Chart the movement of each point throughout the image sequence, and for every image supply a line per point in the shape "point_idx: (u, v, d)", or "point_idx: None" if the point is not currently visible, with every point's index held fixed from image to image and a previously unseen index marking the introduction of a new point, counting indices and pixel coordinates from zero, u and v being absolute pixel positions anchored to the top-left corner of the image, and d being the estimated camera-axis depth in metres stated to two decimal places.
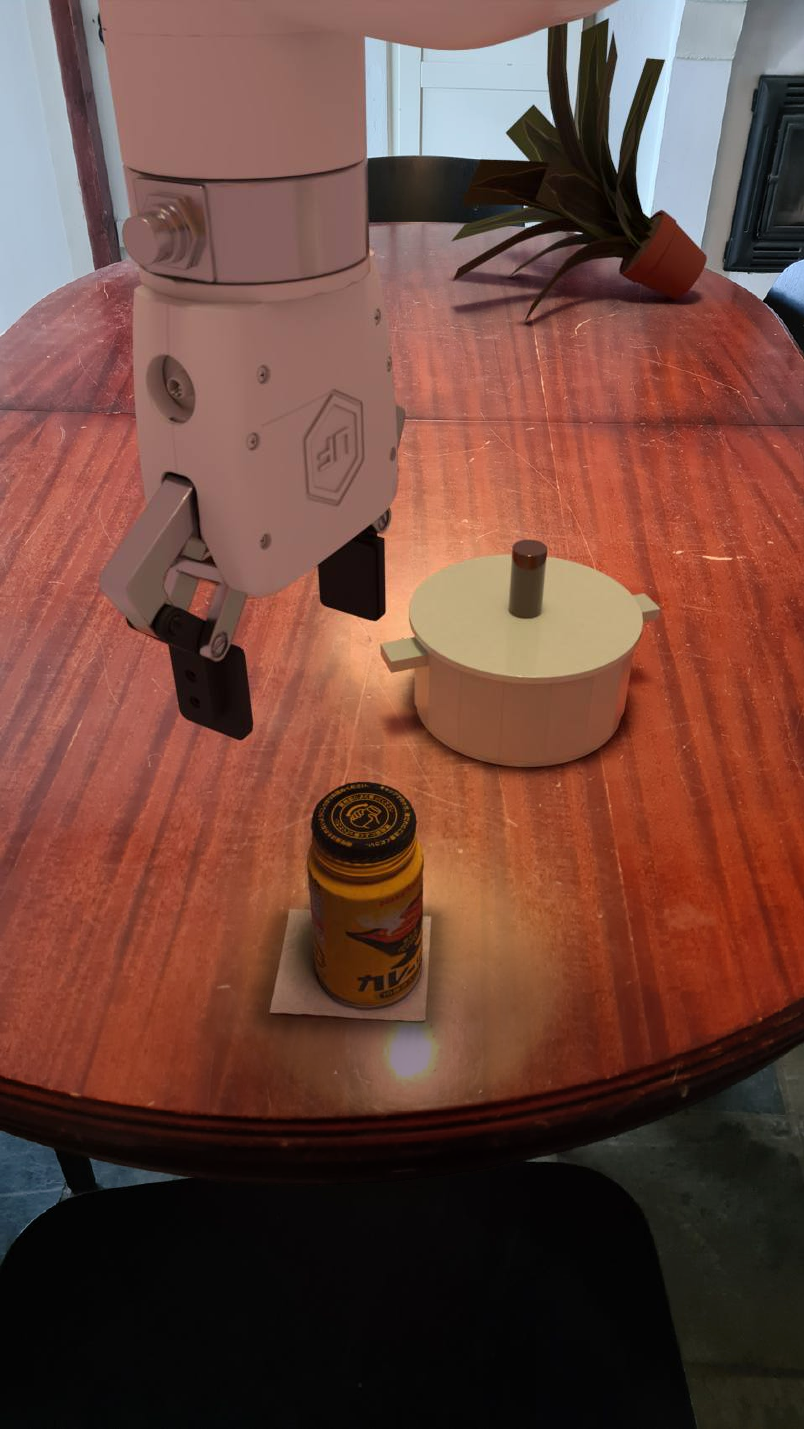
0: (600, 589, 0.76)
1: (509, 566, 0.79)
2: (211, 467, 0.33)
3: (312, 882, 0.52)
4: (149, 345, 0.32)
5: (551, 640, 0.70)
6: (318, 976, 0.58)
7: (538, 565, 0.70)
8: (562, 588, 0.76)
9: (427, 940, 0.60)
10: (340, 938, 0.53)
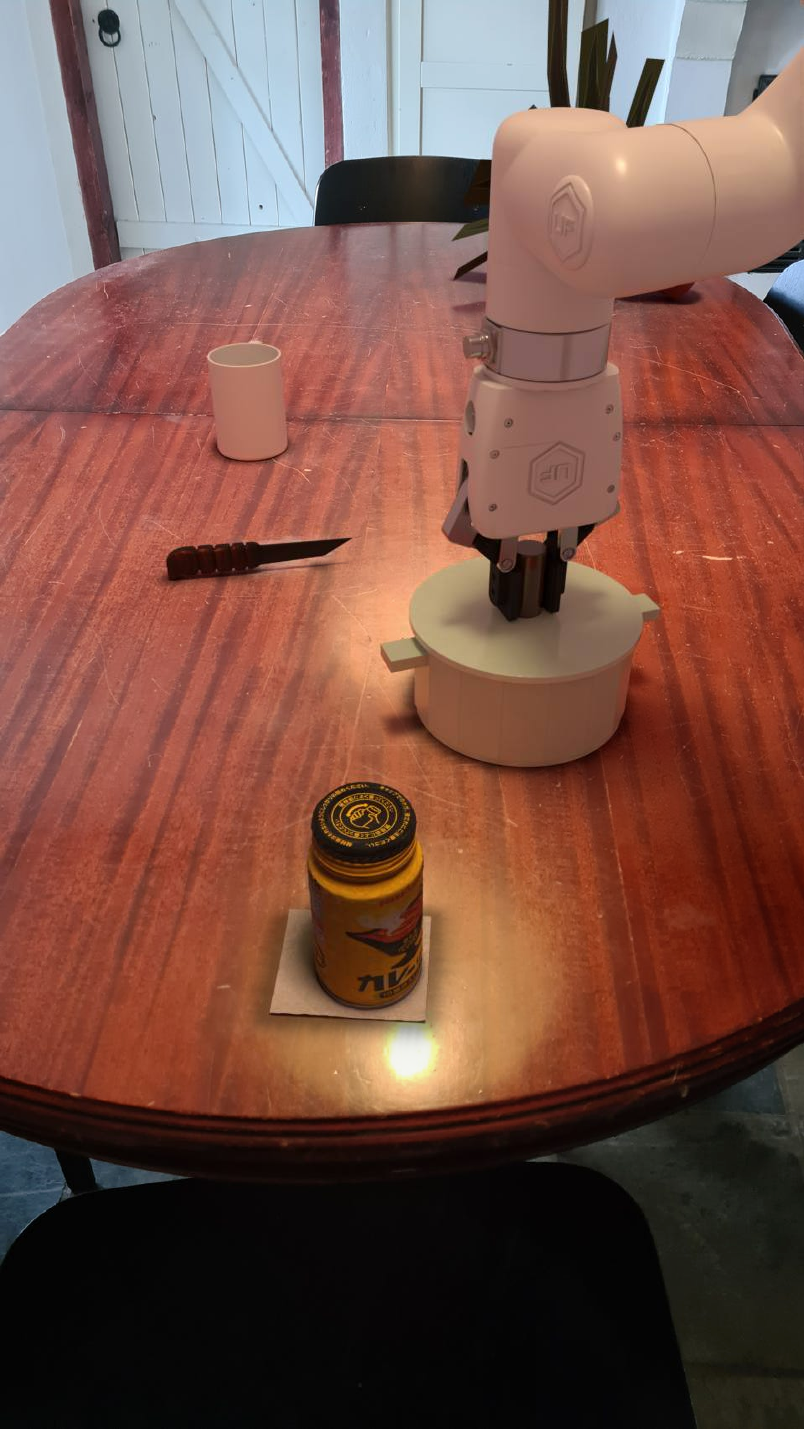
0: (600, 589, 0.76)
1: None
2: (474, 461, 0.64)
3: (312, 882, 0.52)
4: (469, 395, 0.63)
5: (551, 640, 0.70)
6: (318, 976, 0.58)
7: (538, 565, 0.70)
8: None
9: (427, 940, 0.60)
10: (340, 938, 0.53)
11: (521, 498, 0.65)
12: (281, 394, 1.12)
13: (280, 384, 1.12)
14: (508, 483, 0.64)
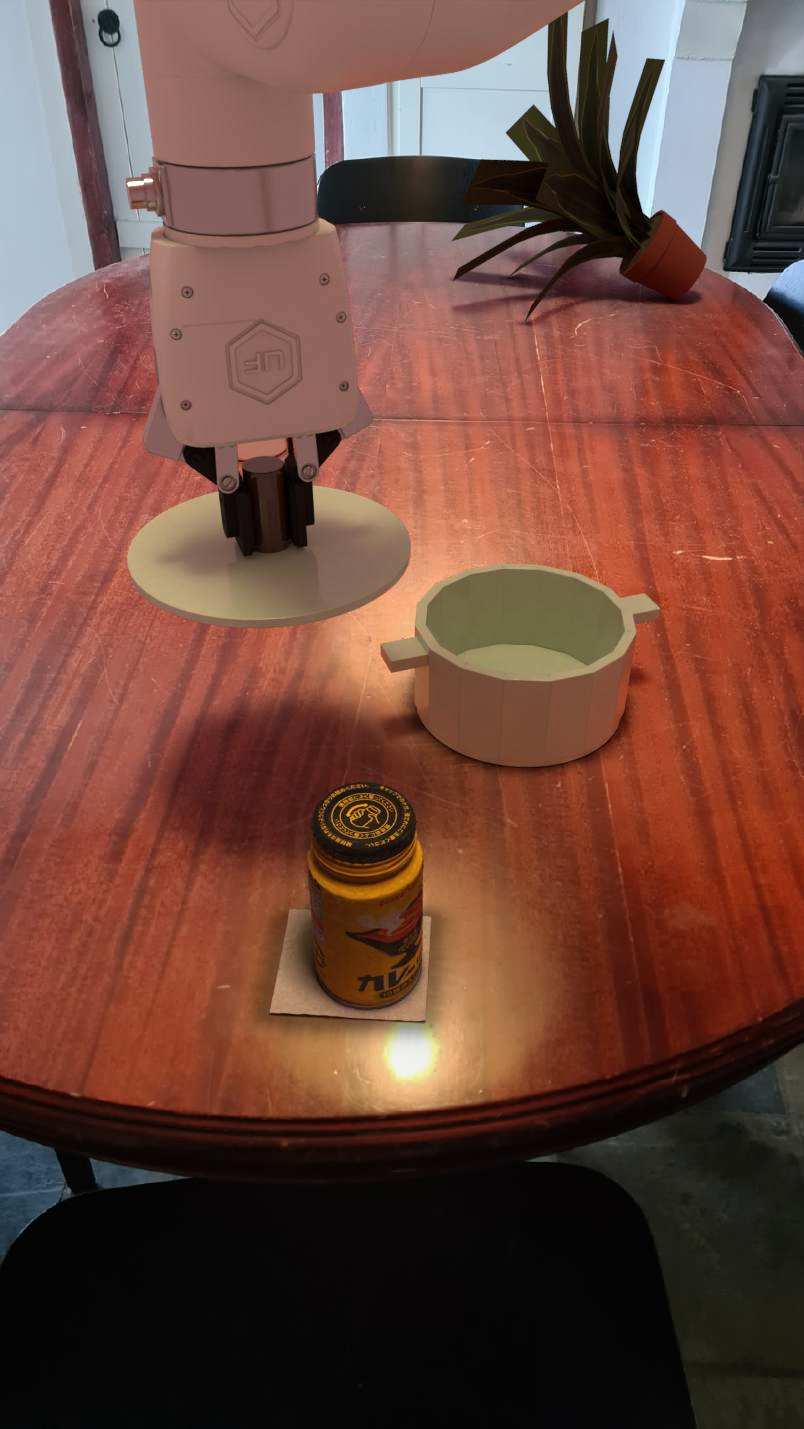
0: (370, 521, 0.63)
1: None
2: (158, 345, 0.51)
3: (312, 882, 0.52)
4: None
5: (288, 578, 0.58)
6: (318, 976, 0.58)
7: (271, 486, 0.57)
8: (324, 520, 0.63)
9: (427, 940, 0.60)
10: (340, 938, 0.53)
11: (222, 394, 0.52)
12: None
13: None
14: (201, 373, 0.51)
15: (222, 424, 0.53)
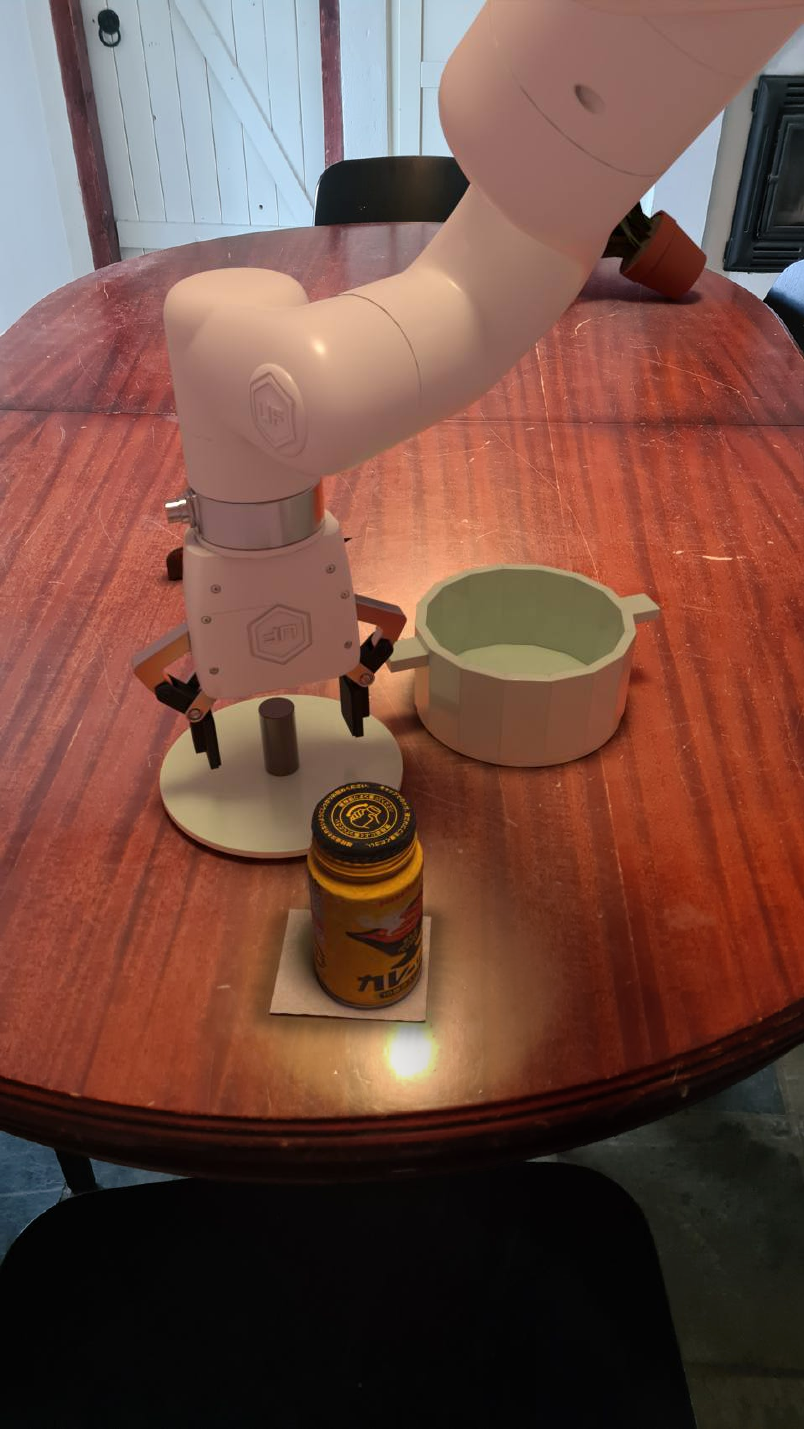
0: (367, 739, 0.73)
1: None
2: (190, 624, 0.60)
3: (312, 882, 0.52)
4: None
5: (298, 805, 0.68)
6: (318, 976, 0.58)
7: (283, 727, 0.67)
8: (328, 738, 0.73)
9: (427, 939, 0.60)
10: (340, 938, 0.53)
11: (245, 660, 0.61)
12: None
13: None
14: (227, 647, 0.60)
15: (244, 682, 0.62)
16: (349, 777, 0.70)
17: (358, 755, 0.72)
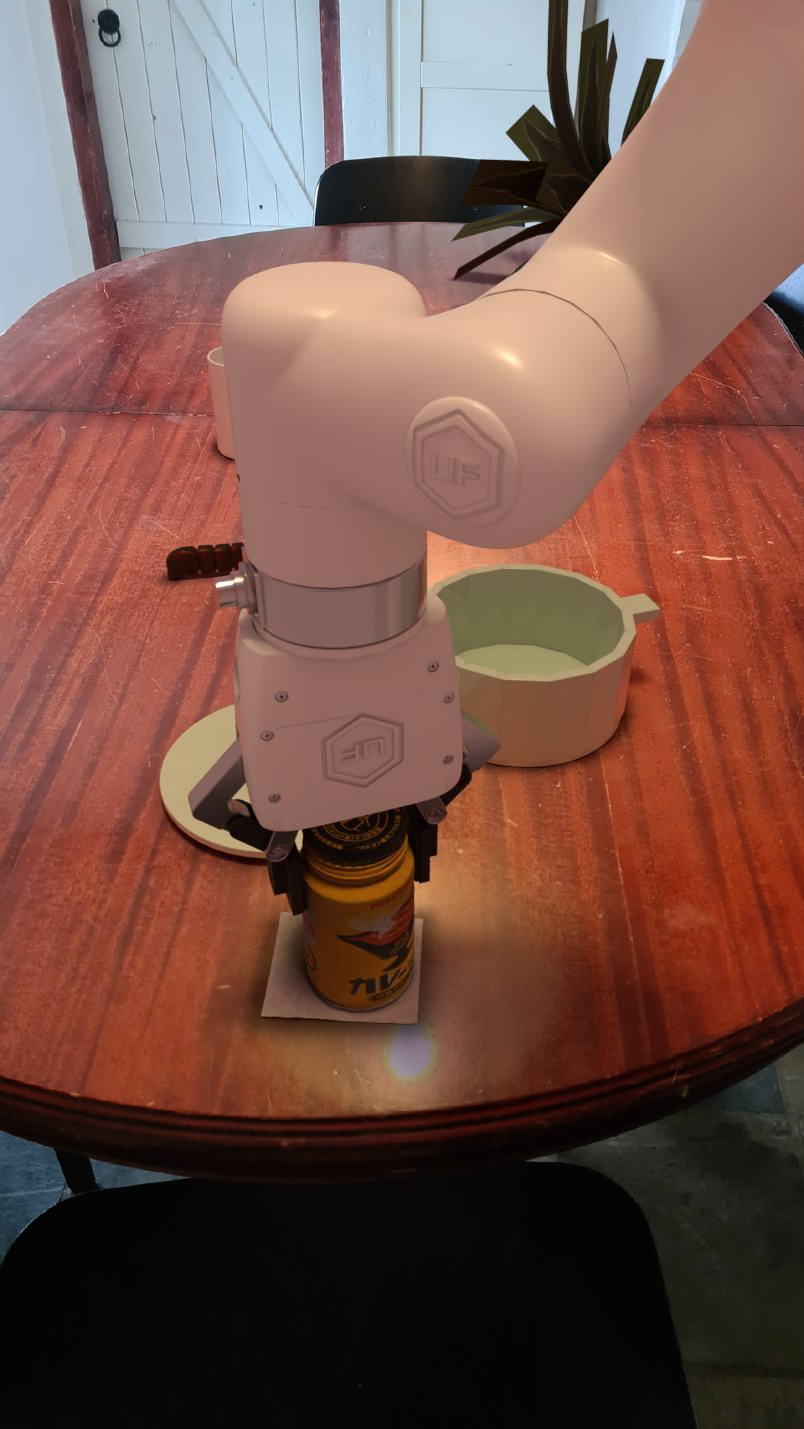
0: None
1: None
2: (244, 739, 0.45)
3: None
4: (235, 646, 0.45)
5: None
6: (310, 979, 0.58)
7: None
8: None
9: (419, 942, 0.60)
10: (331, 941, 0.53)
11: (315, 784, 0.46)
12: None
13: None
14: (293, 768, 0.45)
15: (313, 810, 0.47)
16: None
17: None
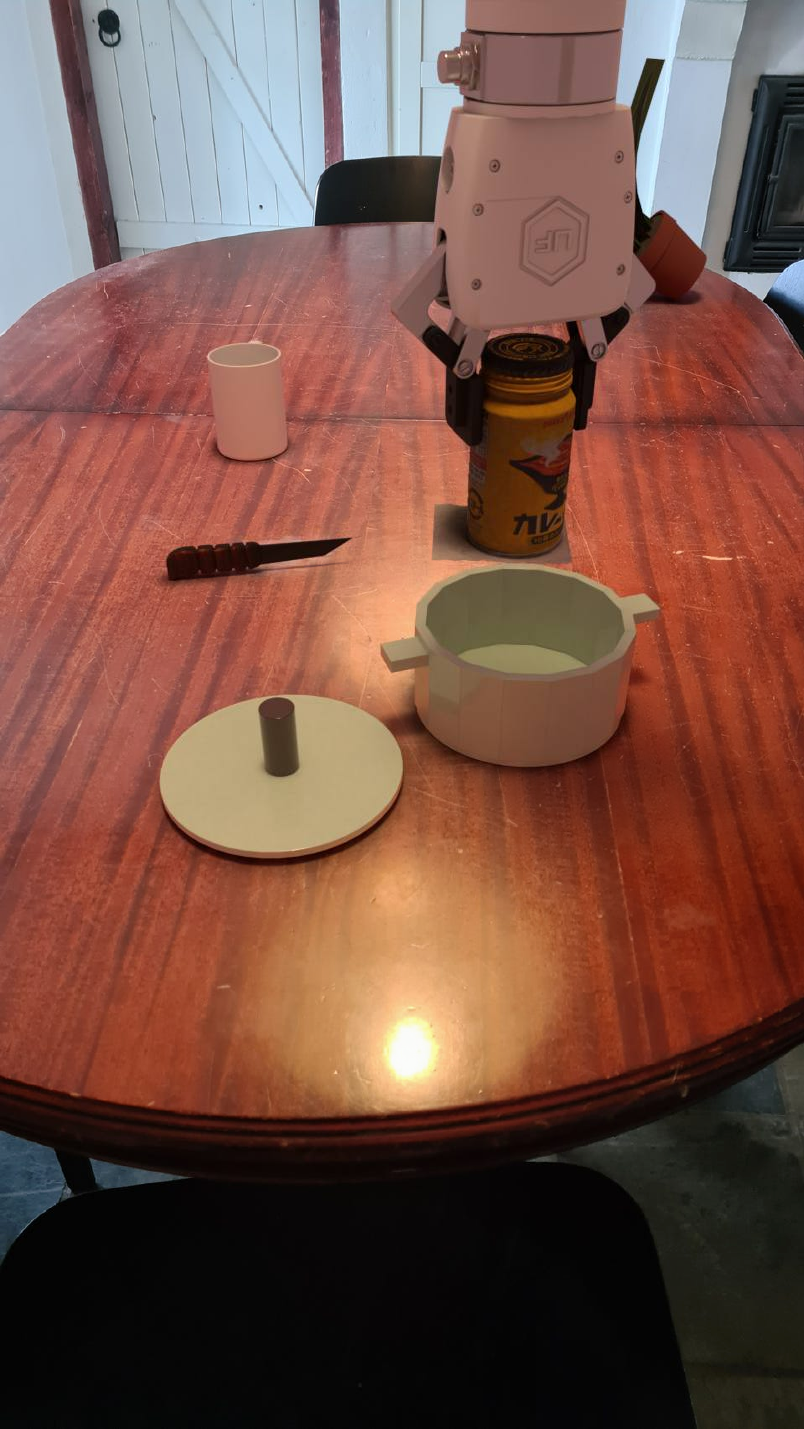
0: (367, 739, 0.73)
1: None
2: (453, 224, 0.52)
3: None
4: (446, 140, 0.51)
5: (298, 805, 0.68)
6: (470, 540, 0.64)
7: (283, 727, 0.67)
8: (328, 738, 0.73)
9: (563, 520, 0.66)
10: (503, 469, 0.59)
11: (511, 273, 0.53)
12: (281, 394, 1.12)
13: (280, 384, 1.12)
14: (495, 251, 0.52)
15: (506, 305, 0.54)
16: (349, 777, 0.70)
17: (358, 755, 0.72)
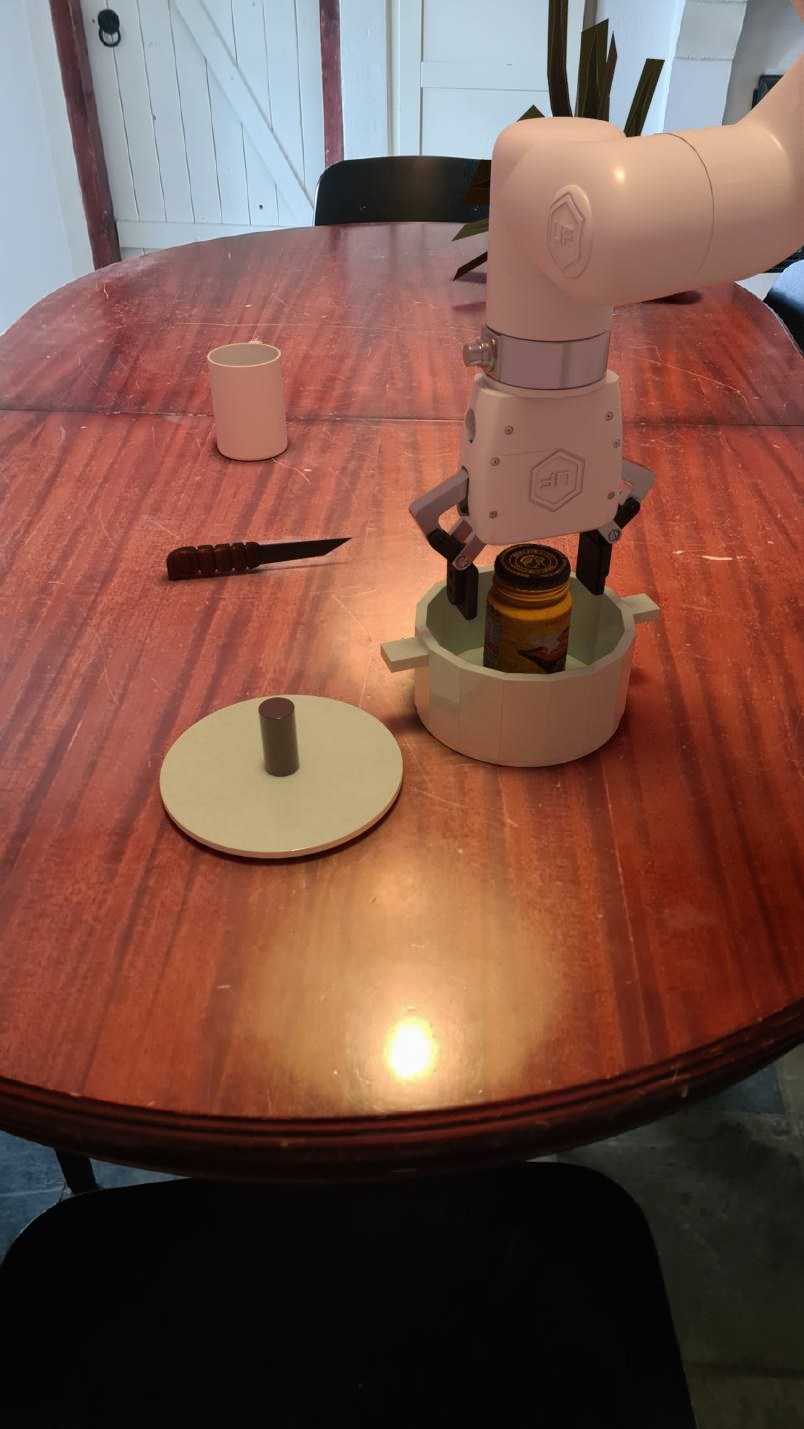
0: (367, 739, 0.73)
1: None
2: (475, 469, 0.64)
3: (493, 613, 0.72)
4: (469, 402, 0.64)
5: (298, 805, 0.68)
6: None
7: (283, 727, 0.67)
8: (328, 738, 0.73)
9: None
10: (512, 656, 0.72)
11: (521, 505, 0.65)
12: (281, 394, 1.12)
13: (280, 384, 1.12)
14: (508, 490, 0.64)
15: (517, 528, 0.66)
16: (349, 777, 0.70)
17: (358, 755, 0.72)
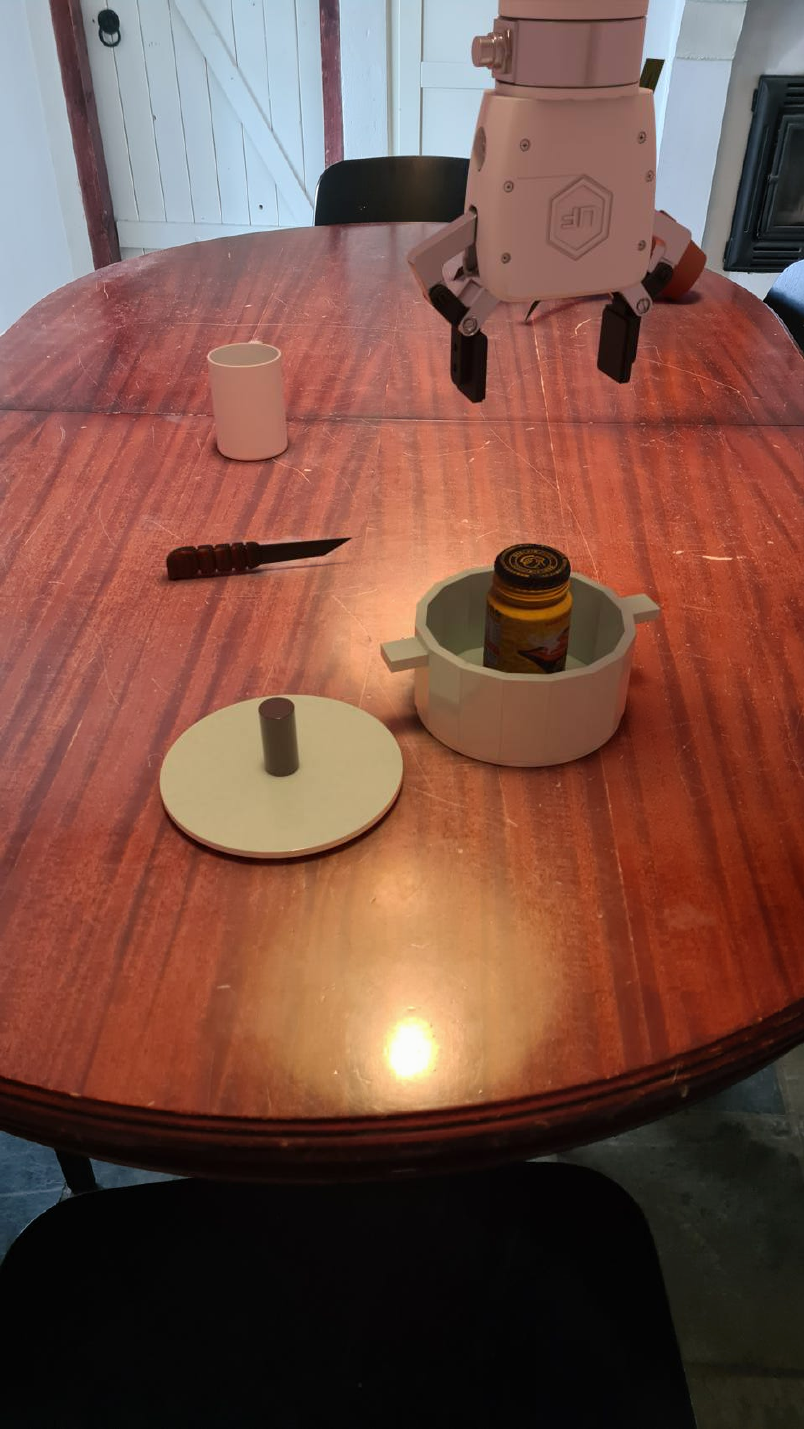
0: (367, 739, 0.73)
1: None
2: (485, 200, 0.55)
3: (493, 614, 0.72)
4: (478, 122, 0.55)
5: (298, 805, 0.68)
6: None
7: (283, 727, 0.67)
8: (328, 738, 0.73)
9: None
10: (512, 657, 0.72)
11: (539, 248, 0.56)
12: (281, 394, 1.12)
13: (280, 384, 1.12)
14: (524, 226, 0.55)
15: (533, 278, 0.57)
16: (349, 777, 0.70)
17: (358, 755, 0.72)
